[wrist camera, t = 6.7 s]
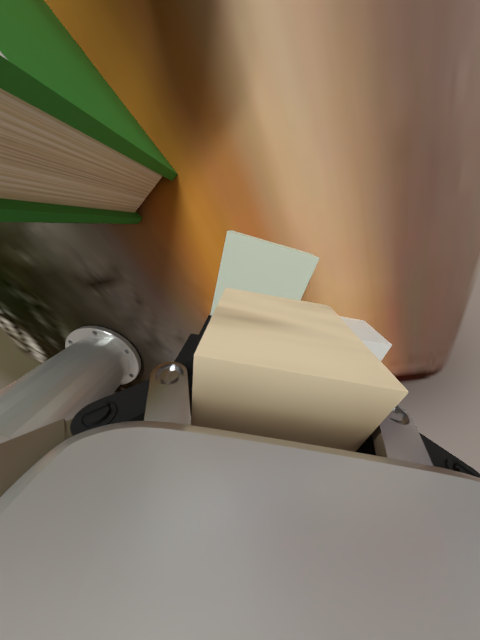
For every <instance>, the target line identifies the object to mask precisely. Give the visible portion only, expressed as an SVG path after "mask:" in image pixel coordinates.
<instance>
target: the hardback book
mask: <svg viewBox="0 0 480 640" xmlns="http://www.w3.org/2000/svg"><path fill="white" fill-rule="evenodd" d="M162 176H164V177H165V178H167V179H169V180H171V181H173V179H174V178H175V177H176V176H177V173H176V171H175V170H174V169H173V168H172V166H171V165H170V164H169V162H168V161H167V160H166V158H165V157H164V156H163V155H162V153H161V152H160V151H159V149H158V148H157V147H156V146H155V144H154V143H153V142H152V140H151V139H150V138H149V136H148V135H147V134H146V133H145V131H144V130H143V129H142V127H141V126H140V125H139V123H138V122H137V121H136V120H135V118H134V117H133V116H132V114H131V113H130V112H129V110H128V109H127V108H126V107H125V105H124V104H123V103H122V101H121V100H120V99H119V97H118V96H117V95H116V94H115V92H114V91H113V90H112V88H111V87H110V86H109V84H108V83H107V82H106V81H105V79H104V78H103V77H102V75H101V74H100V73H99V71H98V70H97V69H96V68H95V66H94V65H93V64H92V62H91V61H90V60H89V58H88V57H87V56H86V55H85V53H84V52H83V51H82V49H81V48H80V47H79V45H78V44H77V43H76V42H75V40H74V39H73V38H72V36H71V35H70V34H69V32H68V31H67V30H66V29H65V27H64V26H63V25H62V23H61V22H60V21H59V19H58V18H57V17H56V16H55V14H54V13H53V12H52V10H51V9H50V8H49V6H48V5H47V4H46V3H45V1H44V0H0V222H48V223H117V224H138V223H139V222H140V221H141V219H142V217H141V216H140V215H139V214H138V213H137V212H136V210H137V209H138V208H139V206H140V205H141V204H142V203H143V201H144V200H145V199H146V197H147V196H148V195H149V193H150V192H151V191H152V189H153V188H154V187H155V186H156V184H157V183H158V182H159V180H160V179H161V178H162Z"/></svg>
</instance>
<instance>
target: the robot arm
mask: <svg viewBox="0 0 480 640" xmlns="http://www.w3.org/2000/svg"><path fill="white" fill-rule="evenodd" d="M211 317H212V315H209V316H208V318H207V320H206V322H205V324H204V326H203V328H202V330H201V332H200V334H199V335H197V334H191V335H190V336H189V338H188V340H187V341H186V343H185V345H184V346H183V348H182V350H181V351H180V353H179V355H178V357H177V358H176V360H175V362H166V363H163V364H160V365H159V366H157V367H156V368H155V369H154V370H153V371H152V373H151V376H150V380H147V381H145V382H142V383H140V384H137V385H135V386H132V387H130V388H127V389H124V390H122V391H119V392H117V393H114V391H115V390H116V389H117V388H118V387H119V386H120V385H122V384H126V383H129V382H131V381H132V380H134V379H135V378H136V376H137V375H138V374H139V372H140V370H141V359H140V357H139V354H138V352H137V351H136V349H135V348H134V346H133V345H132V344H131V343H130V342H129V341H128V340H127V339H125V338H124V337H123V336H121V335H120V334H118V333H116V332H114V331H112V330H110V329H107V328H104V327H99V326H83V327H80V328H78V329H76V330H75V331H73V332H71V333H70V334H69V335H68V337H67V339H66V343H65V348H66V349H64V350H62V351H61V352H59V353H58V354H56V355H55V356H53V357H52V358H50V359H49V360H47V361H46V362H44V363H43V364H41V365H40V366H38V367H37V368H35V369H33V370H32V371H30V372H29V373H27V374H26V375H24V376H23V377H21V378H20V379H18V380H16V381H15V382H13V383H12V384H10V385H9V386H7V387H6V388H4V389H3V390H1V391H0V640H480V474H479V473H478V472H477V471H476V470H474V469H473V468H471V467H470V466H468V465H467V464H465V463H464V462H462V461H461V460H459V459H458V458H456V457H455V456H453V455H452V454H450V453H449V452H447V451H446V450H444V449H443V448H441V447H440V446H438V445H437V444H435V443H434V442H432V441H431V440H429V439H428V438H426V437H425V436H423V435H422V434H420V433H419V432H418V430H417V427H416V425H415V423H414V421H413V419H412V417H411V416H410V414H409V413H408V412H407V411H406V410H405V409H404V408H402V407H401V406H400V405H397V406H396V407H395V408H394V409H393V410H392V411H391V413H390V414H389V415H388V416H387V417H386V418H385V419H384V420H383V421H382V423H381V424H380V425H379V426H378V427H377V428H376V429H375V430H374V432H373V433H372V434H371V435H370V436H369V437H368V438H367V439H366V440H365V442H364V443H363V444H362V445H361V446H360V447H359V448H358V449H357V451H356V452H352V451H347V450H341V449H335V448H329V447H323V446H317V445H311V444H305V443H299V442H293V441H287V440H281V439H275V438H269V437H263V436H257V435H251V434H244V433H238V432H232V431H226V430H220V429H213V428H207V427H200V426H193V425H191V409H192V385H193V361H194V353H195V351H196V349H197V347H198V345H199V343H200V341H201V339H202V336H203V334H204V332H205V330H206V328H207V326H208V324H209V322H210V319H211Z"/></svg>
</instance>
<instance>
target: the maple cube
mask: <svg viewBox="0 0 480 640" xmlns="http://www.w3.org/2000/svg"><path fill="white" fill-rule="evenodd" d="M407 393H408V391H407V390H406V388H405V387H404V386H403V385H402V384H401V383H400V382H399V381H398V380H397V379H396V377H395V376H394V375H393V374H392V373H391V372H390V371H389V370H388V369H387V368H386V367H385V366H384V365H383V363H382V362H381V361H380V360H379V359H378V358H377V357H376V356H375V355H374V354H373V353H372V352H371V350H370V349H369V348H368V347H367V346H366V345H365V344H364V343H363V342H362V341H361V340H360V339H359V337H358V336H357V335H356V334H355V333H354V332H353V331H352V330H351V329H350V328H349V327H348V326H347V324H346V323H345V322H344V321H343V320H342V319H341V318H340V317H339V316H338V315H337V314H336V313H335V312H334V310H333V309H332V308H331V307H330V306H329V305H323V304H317V303H312V302H306V301H300V300H294V299H289V298H283V297H277V296H272V295H266V294H260V293H255V292H249V291H243V290H237V289H232V288H225V290H224V292H223V294H222V296H221V298H220V300H219V302H218V305H217V307H216V309H215V311H214V313H213V315H212V317H211V319H210V322H209V324H208V326H207V328H206V330H205V332H204V334H203V336H202V339H201V341H200V343H199V345H198V347H197V349H196V351H195V353H194V361H193V385H192V409H191V425H193V426H200V427H207V428H213V429H220V430H226V431H232V432H238V433H244V434H251V435H257V436H263V437H269V438H275V439H281V440H287V441H293V442H299V443H305V444H311V445H317V446H323V447H329V448H335V449H341V450H347V451H352V452H356V451H357V449H358V448H359V447H360V446H361V445H362V444H363V443H364V442H365V440H366V439H367V438H368V437H369V436H370V435H371V434H372V433H373V432H374V430H375V429H376V428H377V427H378V426H379V425H380V424H381V423H382V421H383V420H384V419H385V418H386V417H387V416H388V415H389V414H390V413H391V411H392V410H393V409H394V408H395V407H396V406H397V405H398V404H399V402H400V401H401V400H402V399H403V398H404V397H405V396H406V395H407Z"/></svg>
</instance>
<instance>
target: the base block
mask: <svg viewBox="0 0 480 640" xmlns="http://www.w3.org/2000/svg"><path fill="white" fill-rule="evenodd" d="M318 260H319V258H318V257H316V256H314V255H312V254H310V253H307V252H304V251H301V250H297V249H294V248H290V247H287V246H284V245H280V244H277V243H273V242H270V241H266V240H263V239H260V238H256V237H253V236H249V235H246V234H243V233H239V232H236V231H232V230H230V231H227V235H226V240H225V245H224V250H223V254H222V259H221V264H220V269H219V274H218V279H217V284H216V289H215V294H214V299H213V304H212V309H211V314H210V315H213V313H214V311H215V309H216V307H217V305H218V302H219V300H220V298H221V296H222V294H223V292H224V290H225V288H232V289H237V290H243V291H249V292H255V293H260V294H266V295H272V296H277V297H283V298H289V299H294V300H301V298H302V295H303V293H304V291H305V289H306V287H307V285H308V282H309V280H310V278H311V276H312V274H313V271H314V269H315V267H316V265H317V263H318Z"/></svg>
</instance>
